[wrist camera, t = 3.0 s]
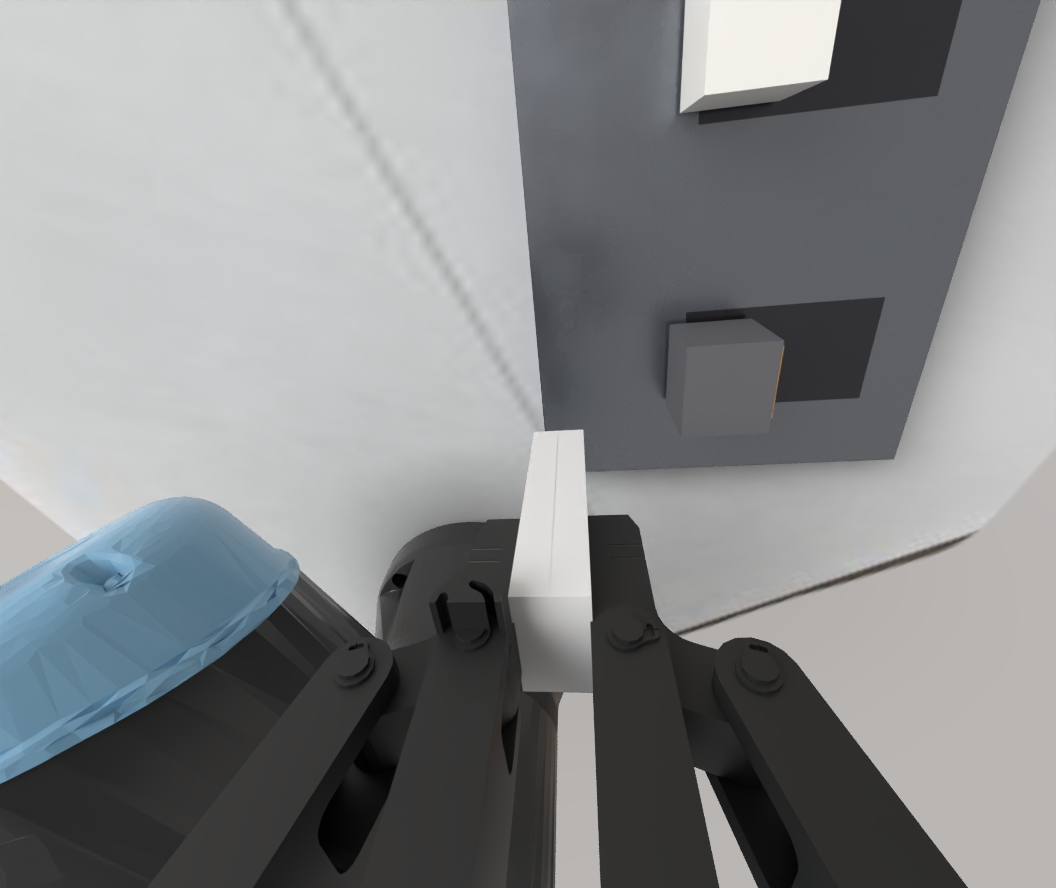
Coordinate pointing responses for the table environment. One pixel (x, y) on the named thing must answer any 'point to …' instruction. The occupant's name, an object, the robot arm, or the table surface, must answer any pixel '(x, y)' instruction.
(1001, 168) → the table surface
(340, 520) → the table surface
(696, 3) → the block
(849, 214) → the breaker panel
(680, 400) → the block
